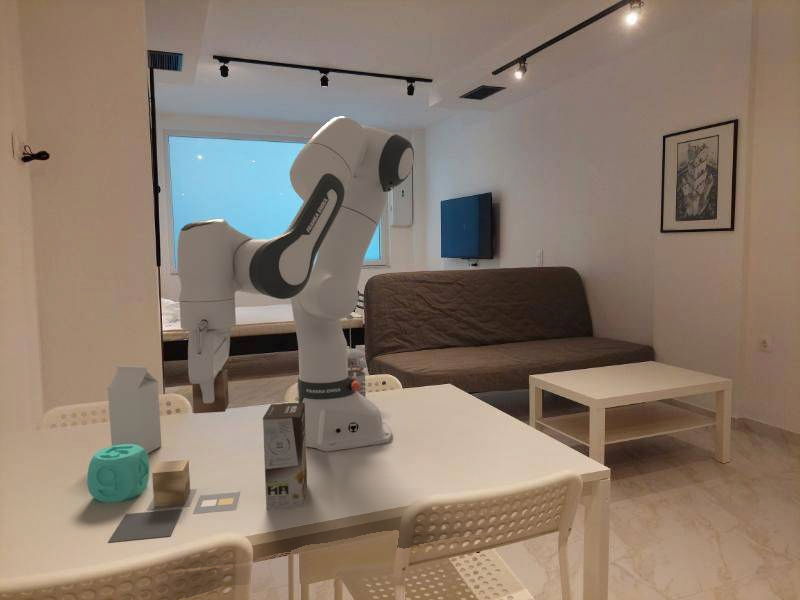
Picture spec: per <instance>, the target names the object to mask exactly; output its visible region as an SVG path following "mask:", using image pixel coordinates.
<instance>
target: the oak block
mask: <svg viewBox="0 0 800 600" xmlns="http://www.w3.org/2000/svg"><path fill="white" fill-rule="evenodd" d="M189 465H190V462H189V459H182V460H181V459H180V460H169V461H168V460H167V461H159V462H158V463H157V464H156V466H155V468H154V469H153V471H152V472H151V474H152V475H151V477H152V492H153V493H152V494H153V498H154V507H157V506H168V505H179V504H185V502H186V500H187V498H188V496H189V493H190V489H191V479H190V466H189Z"/></svg>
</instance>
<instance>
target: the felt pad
mask: <svg viewBox="0 0 800 600" xmlns="http://www.w3.org/2000/svg"><path fill="white" fill-rule="evenodd" d="M182 512H183V508H177V509H167V510H166V509H165V510H154V511H146V512H145V511H144V512H131V513H125V514H124V516H123V518H122V519H121V521H120V522H119V524H118V525H117V527H116V528H115V530H114V531H113V534H112V535H111V536H110V538H109V540H108V541H107V543H109V544H110V543H118V542H119V543H120V542H130V541H137V540H138V541H142V540H148V539H150V540H151V539H161V538H169V537H171V536H172V534H173V533H174V530H175V528H176V525H177V523H178V521H179V519H180V516H181V514H182Z"/></svg>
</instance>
